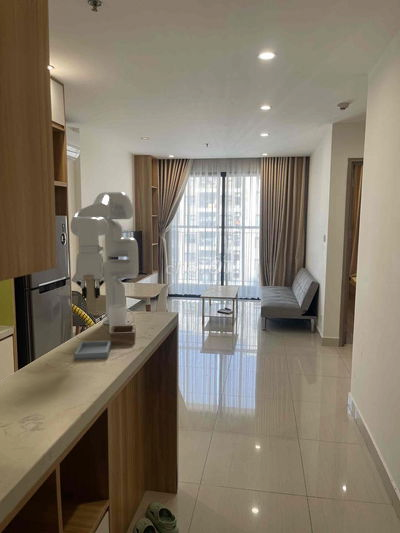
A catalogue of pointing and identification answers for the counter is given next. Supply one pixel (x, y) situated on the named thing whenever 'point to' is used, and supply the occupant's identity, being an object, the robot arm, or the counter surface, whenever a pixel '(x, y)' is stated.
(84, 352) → the tray
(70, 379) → the counter surface
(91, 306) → the handle
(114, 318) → the mug
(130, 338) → the holder
